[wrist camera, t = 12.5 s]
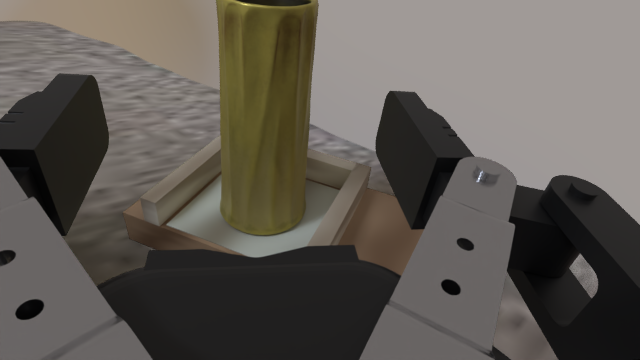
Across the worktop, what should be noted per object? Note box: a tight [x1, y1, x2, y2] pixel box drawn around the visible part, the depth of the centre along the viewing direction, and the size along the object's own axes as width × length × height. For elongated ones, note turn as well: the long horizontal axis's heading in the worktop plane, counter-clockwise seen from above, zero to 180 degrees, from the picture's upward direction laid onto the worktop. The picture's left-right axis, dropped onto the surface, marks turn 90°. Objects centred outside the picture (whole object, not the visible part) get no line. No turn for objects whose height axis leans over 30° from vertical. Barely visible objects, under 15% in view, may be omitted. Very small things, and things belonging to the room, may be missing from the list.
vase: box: [216, 0, 319, 235], centre depth 24 cm, size 6×6×14 cm
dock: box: [123, 135, 424, 276], centre depth 29 cm, size 20×11×4 cm, turn 68°
